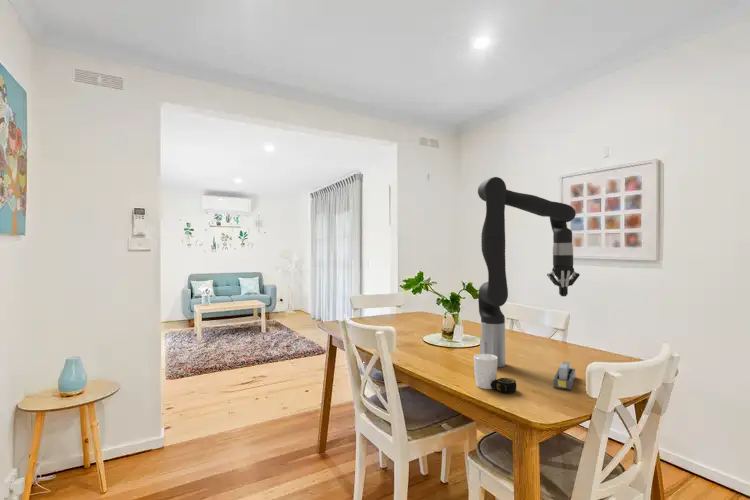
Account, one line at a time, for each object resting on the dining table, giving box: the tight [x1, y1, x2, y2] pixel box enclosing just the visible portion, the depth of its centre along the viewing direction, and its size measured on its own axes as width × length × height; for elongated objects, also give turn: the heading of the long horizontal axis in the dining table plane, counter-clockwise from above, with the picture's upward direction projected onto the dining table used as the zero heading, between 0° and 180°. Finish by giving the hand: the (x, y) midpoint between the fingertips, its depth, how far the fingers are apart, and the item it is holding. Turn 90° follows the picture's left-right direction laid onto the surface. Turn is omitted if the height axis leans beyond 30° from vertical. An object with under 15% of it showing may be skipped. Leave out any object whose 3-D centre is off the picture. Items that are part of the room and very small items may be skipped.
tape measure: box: [490, 377, 517, 394], centre depth 127 cm, size 7×7×4 cm
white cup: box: [473, 353, 498, 390], centre depth 132 cm, size 8×8×10 cm
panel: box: [558, 363, 568, 381], centre depth 131 cm, size 5×2×6 cm, turn 149°
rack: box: [553, 361, 576, 392], centre depth 133 cm, size 16×5×6 cm, turn 148°
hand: (563, 296), depth 158 cm, fingers closed
